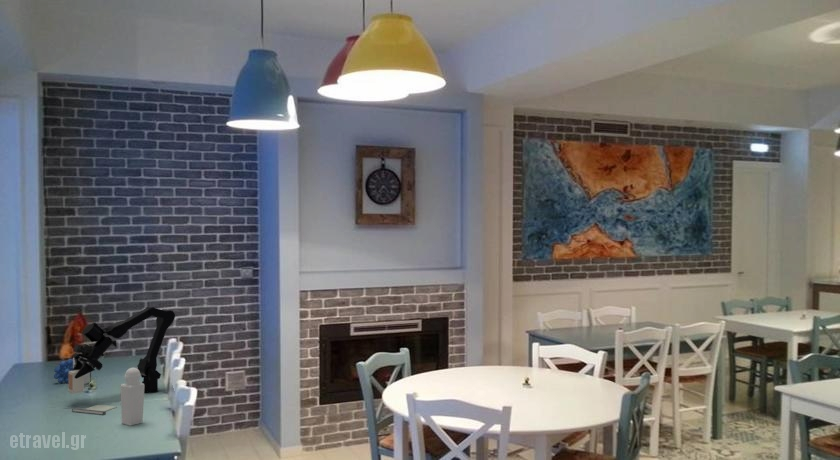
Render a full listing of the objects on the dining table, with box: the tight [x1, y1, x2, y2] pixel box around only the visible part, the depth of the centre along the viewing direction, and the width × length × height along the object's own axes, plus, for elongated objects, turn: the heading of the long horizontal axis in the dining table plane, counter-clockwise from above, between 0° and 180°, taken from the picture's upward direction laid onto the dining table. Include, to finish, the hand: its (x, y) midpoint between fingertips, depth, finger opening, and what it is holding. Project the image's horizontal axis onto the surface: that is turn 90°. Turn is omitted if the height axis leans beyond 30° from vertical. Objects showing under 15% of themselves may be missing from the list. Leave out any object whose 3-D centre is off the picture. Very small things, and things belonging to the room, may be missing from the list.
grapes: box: [53, 358, 73, 384], centre depth 323 cm, size 12×7×12 cm, turn 116°
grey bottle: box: [120, 367, 145, 427], centre depth 258 cm, size 6×6×22 cm
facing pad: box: [85, 404, 118, 412], centre depth 277 cm, size 10×10×1 cm
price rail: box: [71, 407, 107, 416], centre depth 271 cm, size 16×1×1 cm, turn 75°
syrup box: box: [72, 357, 92, 388], centre depth 317 cm, size 6×6×14 cm
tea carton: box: [67, 370, 85, 395], centre depth 282 cm, size 5×5×9 cm
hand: (72, 377), depth 282 cm, fingers closed on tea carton, 5 cm apart
